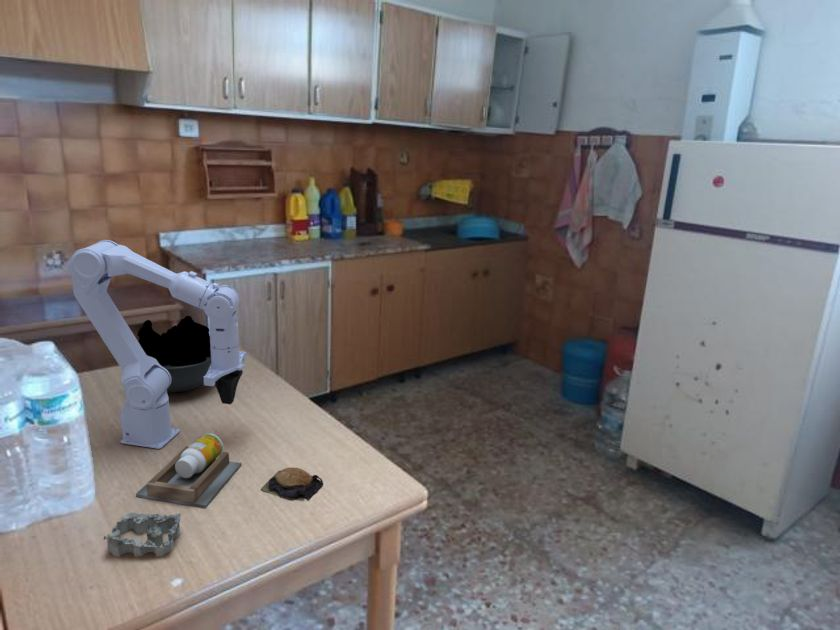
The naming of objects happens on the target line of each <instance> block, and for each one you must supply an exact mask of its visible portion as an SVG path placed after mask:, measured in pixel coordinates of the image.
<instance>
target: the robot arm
mask: <svg viewBox="0 0 840 630" xmlns="http://www.w3.org/2000/svg"><path fill="white" fill-rule="evenodd" d="M66 268H67V270H68V272H69V273H70V275H71V280H72V281H71V282H72V283H71V284H72V291H73V296H74V297H75V299H76V301H77V302H78V304H79V305H80V307H81V308H82V310H83V311H84V313H85V315H86V316H87V318H88V319H89V321H90V322H91V324H92V325H93V327H94V328H95V330H96V331H97V333H98V335H99V336H100V338H101V339H102V341H103V342H104V344H105V345H106V347H107V348H108V350H109V351H110V353H111V354H112V355H111V356H113V358H114V359H115V361H116V362H117V364H118V366H119V367H120V369H121V378H120V384H121V386H122V387H123V389H124V392H125V393H124V395H125V398H126V400H125V402H124V403H123V404H122V406H121V408H120V413H119V416H120V417H119V418H120V424H121V425H120V426H121V434H122V439H121V440H120V443H121V444H125V445H130V446H131V445H132V446H137V447H138V446H139V447H144V448H145V447H146V448H151V449H157V450H159V449H160V450H161V449H162V448H163V447H165V445H167V444H168V443H169V442H170V441H171V440H172V439H173V438H174V437H176V436H177V435H178V434H179V433H180V432H181V429H179V428H174V427H172V423H171V419H172V418H171V411H170V409H171V408H170V399H169V395H168V391H167V388H168V387H169V386H170V384H171V375H170V373H169V372H168V370H166V369H165V368H164V367H162V366H161V365H160V364H159V363H158V362H157V360H156V359H155V358H152V357H150V356H147V355H146V354H145V352H144V350H143V349H142V347H141V346H140V344H139V340H138V339H137V338H136V336H135V335H134V333H133V331H132V330H131V328H130V327H129V325H128V324H127V322H126V321H125V319H124V316H123V315H122V314H121V313H120V310H119V309H118V308H117V305H116V304H115V303H114V301H113V300H112V298H111V296H110V294H109V293H108V291H107V290H108V287H109V285H110V282H111V280H112V277H115V276H116V277H117V276H121V275H126V274H127V275H131V276H133V277H136V278H139V279H143V280H145V281H148V282H150V283H153V284H156V285H158V286H161V287H164V288H166V289H168V290H169V294H170V295H171V297H172V298H174V299H176V300H178V301H182V302H184V303H187V304H189V305H191V306H193V307H196V308H197V309H201V310H202V311H204V314H205V315H206V316H207V317H208V323H209V325H208V326H209V327H208V328H209V335H210V347H211V365H210V367H209V369H208V372H207V374H206V375H205V376H204V383H203V386H208V387H214V386H215V388H216V390H217V392H218V395H219V398H220V401H221V404H225V405H232V404H233V403H234V401H235V398H236V392H237V388H238V384H239V381H240V379H241V377H242V375H243V372H244V371H243V369H245V367H246V364H244V363H243V362H245V361H247V353H246V351H240V340H239V339H240V338H239V336H240V335H239V322H238V311H237V309H238V308H239V306H240V303H241V298H240V295H239V293H238V291H237V290H236V289H235V288H233V287H232V286H230V285H229V284H228V285H227V284H224V285H223V284H222V285H220V284H219V283H218V282H213V283H212V282H210V281H207V280H205V279H203V278H201V277H199V276H197V275H198V273H197V272H194V271H191V270H190V271H189V272H187V271H182V272H181V271H180V272H178V273H176V272H174V271H171V270H170V269H168V268H166V267H163V266H162V265H160V264H158V263H156V262H154V261H152V260H150V259H148V258H146V257H144V256H142V255H140V254H138V253H136V252H134V251H132V250H131V249H130V248H129V247H127V246H126V245H123V244H118V243H116V242H115V241H113V240H109V239H102V240H99V241H98V242H96V243H94V244H91V245H90V246H87V247H83V248H81V249H78V250H76V251H75V252H74V253H73V254H72V256H71V257H70V260H69V262H68V265H67V267H66Z"/></svg>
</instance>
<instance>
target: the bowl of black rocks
mask: <svg viewBox="0 0 840 630" xmlns="http://www.w3.org/2000/svg"><path fill="white" fill-rule="evenodd" d="M166 330H167V331H166V332H163V333H161V334H159V333H158V332H156V331H155V330H154V329H153V323H152V321H151V320H150V319H147V320H145V321H144V322H143V324H142V326H141V328H139V330H138V331H137V337H138V338H139V339H138V342H139V344H140V346H141V347H142V349H143V350H144V352H145V354H146V355H147V356H150V357H152V358H155V359H156V360H157V362H158V363H159V364H160V365H161V366H162V367H164V368H165V369H166V370H168V372H169V373H170V375H171V384H170V386H169V387H168V388H167V392H170V393H180V392H188V391H190V390H193V389H196V388H197V387H199V386H201V385H202V384H204V376H205V375H206V374H207V372H208V369H209V367H210V365H211V347H210V330H209V327H208V326H207V325H203V324H201V323H199V322H196V321H194V319H193V317H192V316H191V315H186V316H185V317H184V318H182V319H180V321H179V323H177V325H176V324H175V325H173V326H172V327H171V328H168V329H166Z"/></svg>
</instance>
